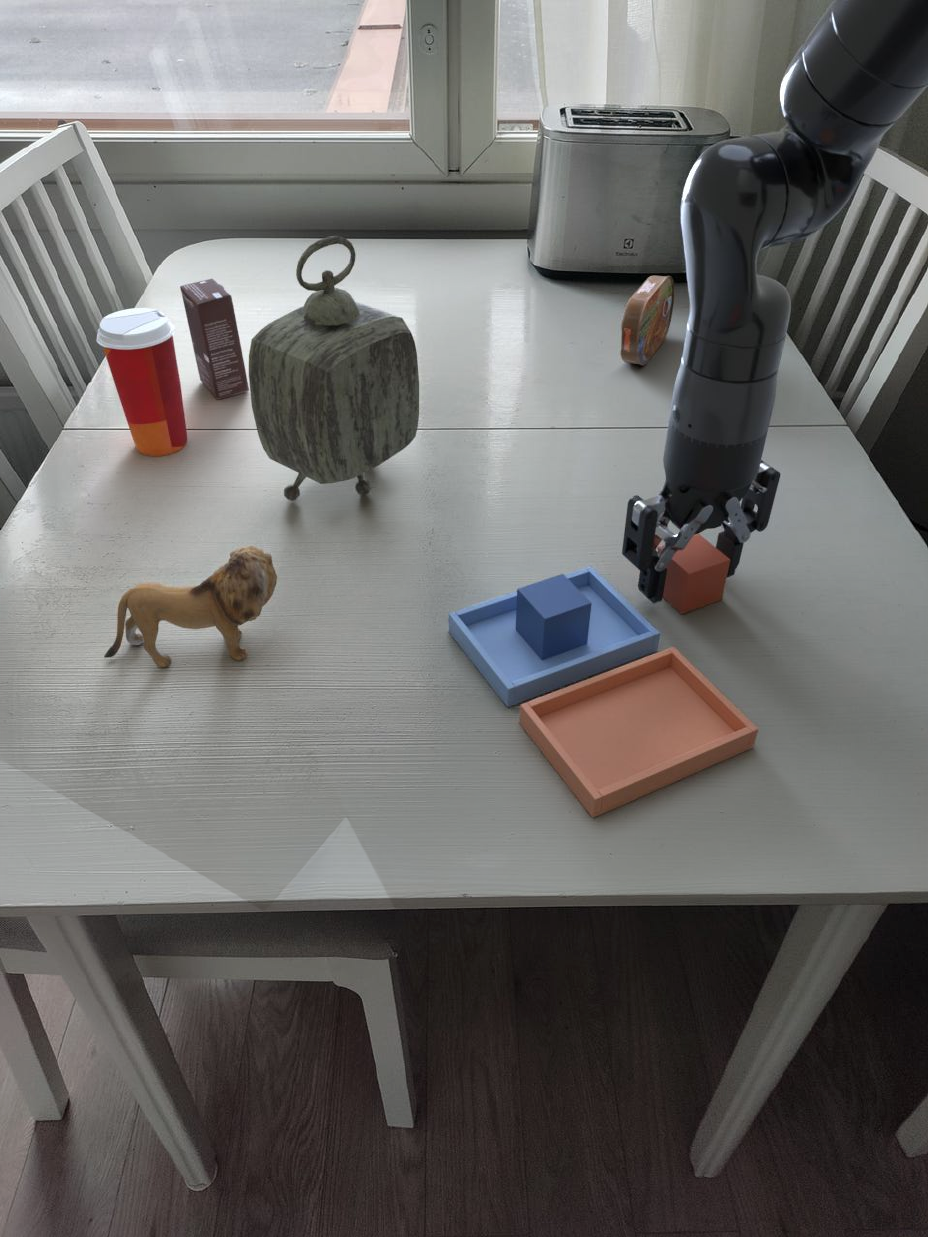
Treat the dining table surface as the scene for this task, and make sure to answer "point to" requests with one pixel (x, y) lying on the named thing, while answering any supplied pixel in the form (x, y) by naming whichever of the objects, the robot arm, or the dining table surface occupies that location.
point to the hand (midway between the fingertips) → (687, 584)
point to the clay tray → (635, 729)
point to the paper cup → (146, 377)
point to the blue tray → (526, 676)
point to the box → (215, 338)
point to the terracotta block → (695, 575)
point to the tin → (647, 319)
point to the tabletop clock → (333, 384)
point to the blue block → (552, 616)
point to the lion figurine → (200, 604)
